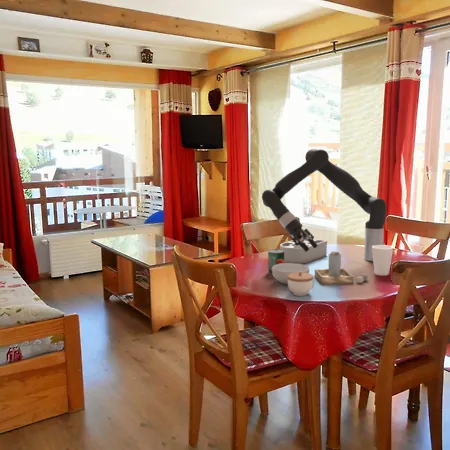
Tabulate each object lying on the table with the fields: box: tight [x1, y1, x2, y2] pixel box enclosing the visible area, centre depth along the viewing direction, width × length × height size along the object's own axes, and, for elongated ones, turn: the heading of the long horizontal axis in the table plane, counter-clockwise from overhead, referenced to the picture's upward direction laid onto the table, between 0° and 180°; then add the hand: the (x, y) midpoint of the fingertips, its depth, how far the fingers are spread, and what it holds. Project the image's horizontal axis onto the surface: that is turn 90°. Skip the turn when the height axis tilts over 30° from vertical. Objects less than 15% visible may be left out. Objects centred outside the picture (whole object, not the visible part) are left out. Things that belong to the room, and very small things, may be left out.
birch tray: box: [314, 267, 354, 285], centre depth 216 cm, size 14×14×3 cm
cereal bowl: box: [271, 262, 310, 285], centre depth 213 cm, size 17×17×7 cm
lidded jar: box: [287, 272, 314, 297], centre depth 196 cm, size 11×11×9 cm
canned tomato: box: [267, 248, 285, 276], centre depth 229 cm, size 8×8×11 cm
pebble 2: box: [360, 273, 369, 282], centre depth 212 cm, size 3×3×3 cm
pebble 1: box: [355, 275, 364, 284], centre depth 209 cm, size 3×3×3 cm
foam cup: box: [372, 244, 394, 276], centre depth 223 cm, size 10×9×13 cm
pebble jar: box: [328, 250, 342, 277], centre depth 214 cm, size 5×5×13 cm
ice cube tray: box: [279, 239, 328, 264], centre depth 258 cm, size 17×28×9 cm, turn 139°
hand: (312, 248), depth 222 cm, fingers open, 8 cm apart
